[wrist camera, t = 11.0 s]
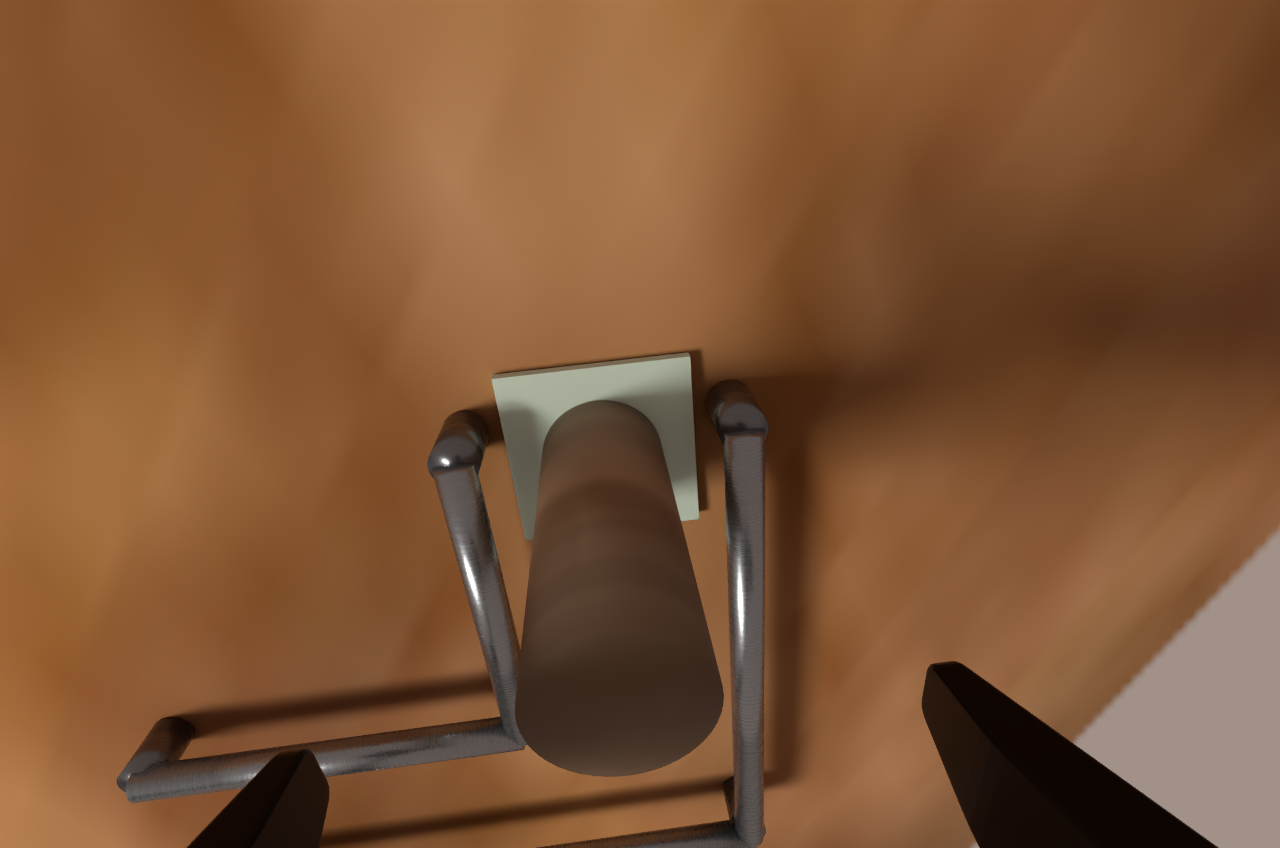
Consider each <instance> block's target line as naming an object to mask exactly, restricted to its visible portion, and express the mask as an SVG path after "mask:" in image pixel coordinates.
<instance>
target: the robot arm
mask: <svg viewBox="0 0 1280 848" xmlns="http://www.w3.org/2000/svg"><path fill="white" fill-rule="evenodd" d="M922 710H923V714H924V718H925V720H926V723H927V725H928V728H929V730H930V733H931V735H932V737H933V740H934V742H935V745H936V747H937V750H938V752H939V755H940V757H941V760H942V762H943V765H944V767H945V769H946V772H947V774H948V777H949V779H950V782H951V784H952V787H953V789H954V792H955V794H956V797H957V799H958V801H959V804H960V806H961V809H962V811H963V813H964V816H965V818H966V820H967V823H968V825H969V827H970V829H971V831H972V833H973V835H974V837H975V839H976V841H977V843H978V845H979V847H980V848H1218V847H1217V846H1215V845H1214V844H1213V843H1211V842H1210V841H1208V840H1207V839H1206V838H1204V837H1203V836H1201V835H1200V834H1199V833H1197V832H1196V831H1194V830H1193V829H1191V828H1190V827H1189V826H1187V825H1186V824H1185V823H1183V822H1182V821H1181V820H1179V819H1178V818H1176V817H1175V816H1174V815H1172V814H1171V813H1169V812H1168V811H1167V810H1165V809H1164V808H1162V807H1161V806H1160V805H1158V804H1157V803H1155V802H1154V801H1153V800H1151V799H1150V798H1148V797H1147V796H1146V795H1144V794H1143V793H1141V792H1140V791H1139V790H1137V789H1136V788H1135V787H1133V786H1132V785H1130V784H1129V783H1128V782H1126V781H1125V780H1123V779H1122V778H1121V777H1119V776H1118V775H1116V774H1115V773H1114V772H1112V771H1111V770H1109V769H1108V768H1107V767H1105V766H1104V765H1102V764H1101V763H1100V762H1098V761H1097V760H1096V759H1094V758H1093V757H1091V756H1090V755H1089V754H1087V753H1086V752H1084V751H1083V750H1082V749H1080V748H1079V747H1077V746H1076V745H1075V744H1073V743H1072V742H1070V741H1069V740H1068V739H1066V738H1065V737H1064V736H1062V735H1061V734H1059V733H1058V732H1057V731H1055V730H1054V729H1052V728H1051V727H1050V726H1048V725H1047V724H1045V723H1044V722H1043V721H1041V720H1040V719H1038V718H1037V717H1036V716H1034V715H1033V714H1031V713H1030V712H1029V711H1027V710H1026V709H1025V708H1023V707H1022V706H1020V705H1019V704H1018V703H1016V702H1015V701H1013V700H1012V699H1011V698H1009V697H1008V696H1006V695H1005V694H1004V693H1002V692H1001V691H999V690H998V689H997V688H995V687H994V686H992V685H991V684H990V683H988V682H987V681H985V680H984V679H983V678H981V677H980V676H979V675H977V674H976V673H974V672H973V671H972V670H970V669H969V668H967V667H966V666H965V665H963V664H961V663H959V662H956V661H949V662H941V663H934V664H931V665H930V666H929V667H928V669H927V673H926V679H925V685H924V690H923V696H922ZM328 802H329V785H328V782H327V779H326V777H325V775H324V773H323V771H322V769H321V767H320V766H319V764H318V762H317V760H316V758H315V756H314V754H313V752H312V751H311V750H309V749H306V748H303V749H296V750H289V751H283V752H280V753H278V754H277V755H275V756H274V757H273V758H272V759H271V760H270V761H269V762H268V763H267V764H266V765H265V766H264V767H263V768H262V769H261V770H260V771H259V772H258V773H257V774H256V775H255V776H254V778H253V779H252V780H251V781H250V782H249V783H248V784H247V785H246V786H245V787H244V788H243V789H242V790H241V791H240V792H239V793H238V794H237V795H236V796H235V797H234V798H233V799H232V801H231V802H230V803H229V804H228V805H227V806H226V807H225V808H224V809H223V810H222V811H221V812H220V813H219V814H218V815H217V816H216V817H215V818H214V819H213V820H212V821H211V823H210V824H209V825H208V826H207V827H206V828H205V829H204V830H203V831H202V832H201V833H200V834H199V835H198V836H197V837H196V838H195V839H194V840H193V841H192V842H191V843H190V845H189V846H188V847H187V848H319V846H320V841H321V836H322V832H323V827H324V822H325V817H326V812H327V807H328Z"/></svg>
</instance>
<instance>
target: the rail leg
mask: <svg viewBox="0 0 1280 848" xmlns="http://www.w3.org/2000/svg"><path fill="white" fill-rule="evenodd" d="M194 735H195V731H194V729H193V727H192V726H191V725H190V724H189V723H187V722H185V721H183V720H180V719H176V718H165V719H162V720H159V721H158V722H156V724H155V725H154V726H153V728H152V729H151V731H150V732H149V734H148V735H147V736H146V738H145V739H144V741H143V742H142V744H141V745H140V746H139V748H138V749H137V751H136V752H135V754H134V755H133V756H132V758H131V759H130V761H129V762H128V764H127V765H126V766H125V768H124V769H123V771H122V772H121V774H120V775H119V776H118V778H117V784H118V786H119V788H120V789H122V790H123V791H124V792H126V796H127V799H128V800H129V802H131V803H141V802H148V801H155V800H163V799H170V798H177V797H185V796H192V795H199V794H206V793H214V792H221V791H228V790H236V789H243V788H244V787H245V786H246V785H247V784H248V783H249V782H250V781H251V780H252V779H253V778H254V776H255V775H256V774H257V773H258V772H259V771H260V770H261V769H262V768H263V767H264V766H265V765H266V764H267V763H268V762H269V761H270V760H271V759H272V758H273V757H274V756H275V755H277V754H278V753H280V752H283V751H289V750H296V749H303V748H306V749H309V750H311V751H312V752H313V754H314V756H315V758H316V760H317V762H318V764H319V766H320V767H321V769H322V771H323V773H324V775H325V777H330V776H337V775H345V774H352V773H359V772H366V771H374V770H381V769H388V768H396V767H403V766H410V765H417V764H425V763H432V762H439V761H446V760H454V759H461V758H468V757H476V756H483V755H490V754H497V753H505V752H512V751H519V750H524V749H525V746H520V745H518V744H516V743H515V742H514V741H512V740H511V739H510V738H509V736H508V735H507V734H506V732H505V730H504V726H503V723H502V719H501V717H495V718H487V719H480V720H472V721H465V722H458V723H450V724H443V725H435V726H428V727H421V728H413V729H406V730H398V731H391V732H384V733H376V734H369V735H362V736H354V737H347V738H339V739H332V740H325V741H317V742H310V743H302V744H295V745H288V746H280V747H273V748H265V749H258V750H251V751H243V752H236V753H228V754H221V755H214V756H206V757H199V758H191V759H184V760H179V759H180V758H181V756H182V755H183V753H184V751H185V750H186V748H187V747H188V745H189V743H190V742H191V740H192V739H193V737H194ZM723 791H724V796H725V801H726V805H727V810H728V815H729V819H730V820H725V821H719V822H712V823H705V824H698V825H691V826H684V827H677V828H670V829H663V830H656V831H649V832H642V833H635V834H628V835H621V836H614V837H607V838H600V839H593V840H586V841H579V842H572V843H565V844H558V845H551V846H544V847H538V848H751V847H750V846H748V845H747V844H746V843H745V842H744V841H743V840H742V839H741V838H740V836H739V835H738V833H737V830H736V827H735V798H734V777H732V778H730V779H728V780H727V781H726V782H725V783H724V785H723ZM765 833H766V829H765V826H764V835H765Z"/></svg>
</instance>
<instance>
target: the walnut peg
mask: <svg viewBox="0 0 1280 848" xmlns="http://www.w3.org/2000/svg"><path fill="white" fill-rule="evenodd" d="M723 698H724V694H723V687H722V682H721V678H720V674H719V670H718V666H717V662H716V658H715V654H714V650H713V646H712V642H711V639H710V635H709V631H708V627H707V623H706V619H705V615H704V611H703V607H702V603H701V599H700V595H699V591H698V587H697V583H696V579H695V575H694V571H693V567H692V563H691V559H690V555H689V551H688V547H687V543H686V539H685V535H684V532H683V528H682V524H681V520H680V516H679V512H678V508H677V504H676V500H675V496H674V492H673V488H672V484H671V480H670V476H669V472H668V468H667V464H666V460H665V456H664V452H663V448H662V444H661V440H660V437H659V434H658V432H657V430H656V428H655V426H654V425H653V424H652V422H651V421H650V420H649V419H648V418H647V417H646V416H645V415H644V414H643V413H642V412H640V411H639V410H637V409H635V408H634V407H632V406H629V405H627V404H624V403H621V402H616V401H609V400H597V401H591V402H586V403H583V404H580V405H577V406H575V407H573V408H571V409H569V410H568V411H566V412H565V413H563V414H562V415H561V416H560V417H559V418H558V419H557V420H556V421H555V422H554V423H553V425H552V426H551V427H550V429H549V431H548V433H547V435H546V437H545V440H544V444H543V451H542V460H541V469H540V479H539V488H538V497H537V506H536V515H535V525H534V534H533V543H532V552H531V562H530V571H529V580H528V589H527V599H526V608H525V617H524V626H523V636H522V645H521V654H520V663H519V673H518V682H517V691H516V700H515V718H516V724H517V727H518V729H519V732H520V734H521V736H522V737H523V739H524V741H525V742H526V743H527V744H528V746H529V747H530V748H531V749H532V750H533V751H534V752H536V753H537V754H538V755H539V756H540V757H542V758H543V759H545V760H546V761H548V762H550V763H552V764H554V765H556V766H558V767H560V768H563V769H566V770H569V771H572V772H576V773H580V774H586V775H592V776H605V777H608V776H626V775H634V774H639V773H644V772H648V771H651V770H655V769H658V768H661V767H663V766H666V765H668V764H670V763H672V762H675V761H677V760H679V759H680V758H682V757H684V756H685V755H687V754H688V753H690V752H691V751H692V750H694V749H695V748H696V747H698V746H699V745H700V744H701V743H702V742H703V741H704V740H705V739H706V738H707V737H708V735H709V734H710V733H711V732H712V730H713V729H714V727H715V725H716V724H717V722H718V719H719V717H720V715H721V711H722V707H723Z"/></svg>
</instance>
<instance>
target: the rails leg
mask: <svg viewBox="0 0 1280 848" xmlns="http://www.w3.org/2000/svg"><path fill="white" fill-rule="evenodd" d="M706 406H707V410H708V412H709V414H710V416H711V419H712V421H713V423H714V426H715V428H716V430H717V432H718V435H719V437H720V439H721V442H722V443H723V445H724V470H725V503H726V536H727V569H728V601H729V634H730V667H731V700H732V733H733V766H734V798H735V827H736V830H737V833H738V835H739V836H740V838H741V839H742V840H743V841H744V842H745V843H746V844H747V845H748V846H750V847H751V848H756V847H758V846H759V845H760V844H761V843H762V841H763V837H764V608H765V439H766V437H767V435H768V429H769V428H768V422H767V420H766V418H765V416H764V415H763V413H762V412H761V410H760V408H759V407H758V405H757V403H756V402H755V400H754V399H753V397H752V395H751V394H750V392H749V390H748V389H747V387H746V386H745V385H744V384H742V383H741V382H738V381H735V380H726V381H722V382H720V383H718V384H716V385H715V386H714V387H713V388H712V389H711V390H710V391H709V393H708V395H707V399H706ZM488 438H489V427H488V425H487V423H486V421H485V420H484V419H483V418H482V417H481V416H479V415H478V414H476V413H473V412H469V411H459V412H455V413H453V414H451V415H450V416H449V417H448V418H447V419H446V420H445V422H444V424H443V427H442V429H441V431H440V433H439V436H438V438H437V440H436V442H435V445H434V447H433V449H432V451H431V454H430V456H429V458H428V469H429V472H430V474H431V476H432V477H433V478H434V480H435V483H436V487H437V490H438V494H439V498H440V501H441V505H442V508H443V512H444V515H445V519H446V523H447V526H448V530H449V533H450V537H451V540H452V544H453V548H454V551H455V555H456V558H457V562H458V566H459V569H460V573H461V576H462V580H463V583H464V587H465V591H466V594H467V598H468V601H469V605H470V608H471V612H472V616H473V619H474V623H475V626H476V630H477V633H478V637H479V641H480V644H481V648H482V651H483V655H484V658H485V662H486V666H487V669H488V673H489V676H490V680H491V683H492V687H493V691H494V694H495V698H496V701H497V705H498V708H499V712H500V716H501V719H502V723H503V726H504V730H505V732H506V734H507V735H508V736H509V738H510V739H511V740H512V741H514V742H515V743H516V744H518V745H520V746H525V745H528V744H527V743H526V742H525V741H524V739H523V737H522V736H521V734H520V732H519V729H518V727H517V724H516V718H515V700H516V691H517V682H518V673H519V663H520V654H521V650H520V646H519V642H518V637H517V633H516V629H515V625H514V621H513V617H512V613H511V608H510V604H509V600H508V596H507V592H506V588H505V583H504V579H503V575H502V571H501V567H500V563H499V559H498V554H497V550H496V546H495V542H494V538H493V534H492V530H491V525H490V521H489V517H488V513H487V509H486V505H485V501H484V496H483V492H482V488H481V484H480V480H479V476H478V473H479V470H480V466H481V463H482V459H483V456H484V452H485V449H486V445H487V442H488Z"/></svg>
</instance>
